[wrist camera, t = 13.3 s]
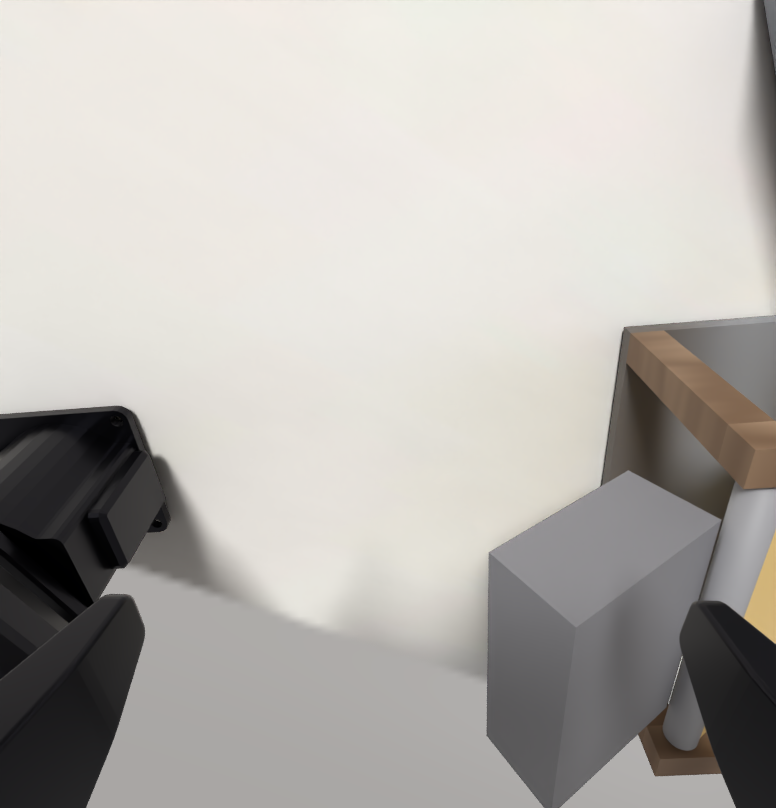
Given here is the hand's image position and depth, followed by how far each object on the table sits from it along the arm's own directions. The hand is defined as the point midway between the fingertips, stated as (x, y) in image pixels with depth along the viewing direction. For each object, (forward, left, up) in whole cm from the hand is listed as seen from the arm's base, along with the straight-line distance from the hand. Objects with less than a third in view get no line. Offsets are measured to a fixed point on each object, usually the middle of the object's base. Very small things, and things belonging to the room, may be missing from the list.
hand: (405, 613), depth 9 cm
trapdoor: (+10, -8, -10) cm, 16 cm away
